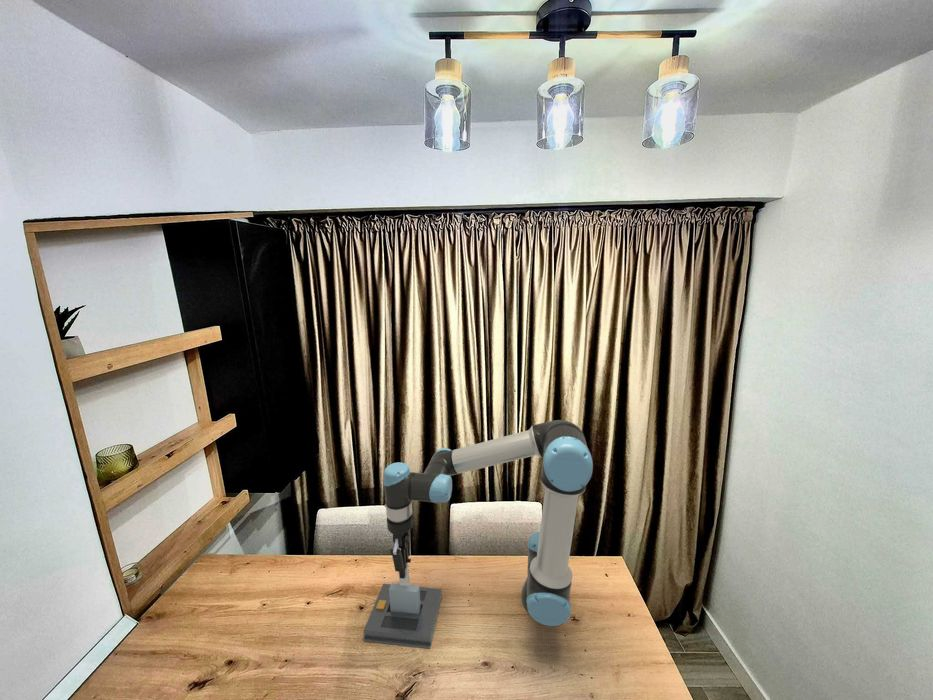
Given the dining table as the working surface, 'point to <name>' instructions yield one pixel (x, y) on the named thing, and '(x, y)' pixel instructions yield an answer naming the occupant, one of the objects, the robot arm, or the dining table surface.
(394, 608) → the panel
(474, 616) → the dining table surface
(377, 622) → the panel
